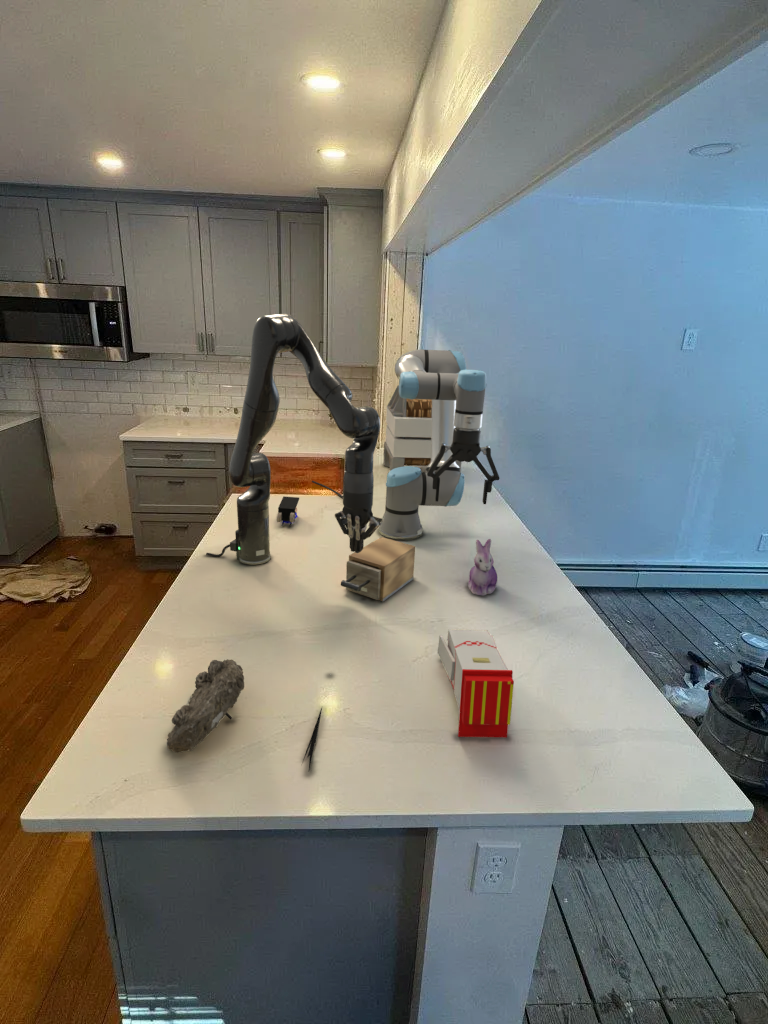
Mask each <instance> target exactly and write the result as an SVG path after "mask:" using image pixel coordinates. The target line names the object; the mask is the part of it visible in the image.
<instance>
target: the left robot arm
mask: <svg viewBox="0 0 768 1024" xmlns="http://www.w3.org/2000/svg"><path fill="white" fill-rule="evenodd" d="M251 337H252V338H251V349H250V350H251V351H250V352H251V353H250V363H249V371H248V378H247V385H246V390H245V394H244V398H243V405H242V408H241V416H240V422H239V428H238V431H237V437H236V440H235V444H234V447H233V450H232V453H231V456H230V460H229V466H228V475H229V478H230V482H231V483H232V485H233V486H234V487H237V488H247V487H248V489H246V490H245V491H244V492H243V493H242V494H240V495H238V497H237V499H236V514H237V515H236V516H237V530H235V532H234V534H235V538H234V539H233V540H232V541H230V542H229V544H226V545H225V546H224V547H223V548H222V550H221V553H219V554H218V553H217V554H216V553H211V552H206V553H205V556H209V557H213V558H219V557H222V556H224V554H225V551H226V550H227V549H228V548H229V550H230V552H235V553H236V554H235V555H236V561H239V562H240V563H242V564H245V565H249V566H256V565H257V566H258V565H262V564H266V563H268V562H269V561H270V560H271V548H270V547H271V542H270V541H271V540H270V512H269V511H270V508H269V507H270V506H269V501H270V497H271V479H272V477H271V475H272V473H271V471H272V470H271V464H270V461H269V458H268V457H267V455H266V454H264V453H263V452H255V450H256V448H257V446H258V445H259V444H260V443H261V442H262V440H264V438H265V437H266V436H267V435H268V433H269V432H270V431H271V429H272V428H273V427H274V425H275V423H276V420H277V416H278V411H279V407H280V402H281V401H280V393H279V390H278V387H277V385H276V382H275V379H274V366H275V363H276V362H275V361H276V358H277V355H278V354H281V353H287V352H290V354H292V355H293V356H294V357H296V359H298V360H299V362H300V363H301V364H302V367H303V369H304V371H305V375H306V380H307V382H308V385H309V388H310V389H311V391H312V392H313V393H314V395H315V396H316V397H317V398H318V399H319V401H320V402H321V403H322V404H323V405H324V406H325V407H326V409H328V411H329V413H330V415H331V417H332V419H333V421H334V423H335V425H336V427H337V429H338V430H339V431H340V433H342V434H343V435H344V436H346V437H347V438H349V439H353V441H352V443H351V444H350V445H349V446H348V447H347V448H346V449H345V452H344V471H343V477H342V478H343V480H342V482H343V483H342V489H343V490H342V496H343V498H342V505H343V507H342V510H340V511H338V512H336V513H334V518H335V520H336V521H337V523H338V525H339V527H340V529H341V531H342V533H343V535H347V536H348V539H349V550H350V552H351V553H354V552H355V553H359V552H361V551H362V550H363V547H364V542H365V540H366V539H368V538H371V536H372V535H373V534H374V533H375V532H376V530H377V529H379V526H380V524H381V521H380V520H376V519H374V518H373V516H374V513H373V510H372V508H373V505H374V453H375V451H376V447H377V443H378V439H379V435H380V432H381V417H380V415H379V413H378V411H377V410H376V409H375V408H374V407H373V406H369V405H363V406H359V407H355V405H353V404H352V400H353V393H352V390H351V389H350V388H349V387H348V386H347V385H346V384H345V383H344V381H343V380H342V379H341V378H340V377H339V376H338V375H337V373H336V372H334V370H333V369H332V368H331V367H330V366H329V364H328V363H327V362H326V360H325V359H324V357H323V356H322V354H321V353H320V351H319V350H318V349H317V347H316V345H315V343H314V342H313V341H312V340H311V338H310V337H309V334H308V333H307V332H306V330H305V329H304V327H303V326H302V324H301V322H299V321H298V319H297V318H296V317H295V316H293V315H292V314H290V313H273V314H266V315H262V316H259V318H258V319H256V321H255V323H254V326H253V330H252V336H251ZM367 527H368V528H367Z"/></svg>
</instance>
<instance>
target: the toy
mask: <svg viewBox="0 0 768 1024" xmlns="http://www.w3.org/2000/svg"><path fill="white" fill-rule="evenodd" d="M446 640H447V643H446V641H445V639H444V636H443V635H442V634H439V637H438V646H437V656H438V657H439V659H440V661H441V663H442V666H443V668H444V670H445V672H446V674H447V677H448V679H449V681H450V684H451V687H452V690H453V693H454V697H455V701H456V705H457V708H458V711H459V714H458V715H459V716H458V730H457V731H458V732H457V737H458V738H508V731H509V726H510V725H511V717H512V707H513V697H514V696H513V695H514V684H515V680H514V679H513V673H514V671H513V670H512V669H508V667H507V665H506V662H505V661H504V659H503V658H502V655H501V653H500V651H499V649H498V647H497V643H496V639H495V637H494V635H493V634H491V632H490V631H489V629H467V628H466V629H465V628H463V629H461V628H460V629H459V628H448V630H447V639H446Z"/></svg>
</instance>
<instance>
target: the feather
mask: <svg viewBox="0 0 768 1024" xmlns="http://www.w3.org/2000/svg"><path fill="white" fill-rule="evenodd" d="M329 675H330V676H331V675H332V674H331V673H330V674H329ZM322 710H323V707H321V708H320V710H319V713H318V716H317V719H316V723H315V725H314V728H313V731H312V733H311V737H310V739H309V742H308V745H307V748H306V751H305V754H304V757H303V760H302V763H301V767H302V765H303V763H304V761H305V758H308V759H309V760H308V762H307V763H308V764H307V766H308V771H310V770H311V766H312V765H311V764H312V760H313V757H315V756H314V755H315V751H316V749H315V746H317V739H318V733H319V729H320V722H321V717H322V712H323V711H322ZM313 754H314V755H313ZM306 755H307V757H306Z"/></svg>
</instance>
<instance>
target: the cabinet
mask: <svg viewBox="0 0 768 1024" xmlns="http://www.w3.org/2000/svg"><path fill="white" fill-rule="evenodd" d="M415 559H416V546H415V545H413V544H409V543H405V542H401V541H399V540H395V539H390V538H387V537H384V536H381V537H379V538H376V539H375V540H373V541H371V542H370V543H369V544H366V545H365V546H363V550H362V551H361V552H359V553H355V552H351V554H349V555H348V561H349V560H350V561H353V562H355V561H358V562H362V563H365V564H368V565H371V566H374V567H378V568H381V590H380V599H378V600H377V601H380V602H384V601H386V600H388V599H389V598H390V597H392V595H394V594H395V593H397V592H398V591H399V590H400V589H402V588H404V587H405V586H406V585H407V584H409V583H410V582H411V581H413V580H414V574H415Z"/></svg>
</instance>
